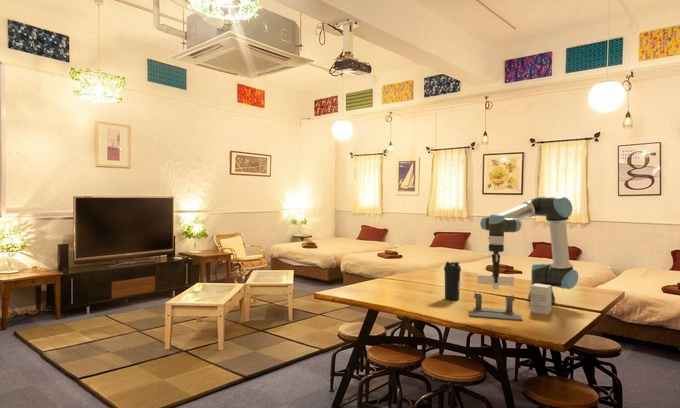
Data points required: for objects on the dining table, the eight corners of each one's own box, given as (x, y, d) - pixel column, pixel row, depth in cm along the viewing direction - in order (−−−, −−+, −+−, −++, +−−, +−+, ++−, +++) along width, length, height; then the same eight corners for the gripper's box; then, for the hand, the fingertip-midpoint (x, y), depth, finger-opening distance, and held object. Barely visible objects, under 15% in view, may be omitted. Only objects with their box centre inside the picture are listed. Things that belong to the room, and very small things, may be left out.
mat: (520, 316, 233) (520, 315, 233) (522, 320, 225) (522, 319, 225) (469, 312, 241) (469, 311, 241) (469, 316, 232) (469, 315, 232)
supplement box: (534, 309, 250) (535, 283, 249) (551, 312, 244) (552, 285, 244) (529, 312, 243) (530, 285, 242) (547, 315, 237) (547, 287, 237)
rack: (513, 311, 244) (513, 294, 244) (514, 314, 238) (514, 296, 238) (473, 308, 250) (473, 291, 250) (473, 310, 244) (474, 293, 244)
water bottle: (461, 301, 267) (461, 263, 266) (443, 300, 269) (444, 262, 268) (459, 297, 277) (460, 261, 276) (443, 296, 279) (443, 260, 278)
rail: (513, 284, 232) (513, 276, 232) (513, 285, 228) (514, 277, 228) (477, 282, 237) (477, 274, 237) (477, 283, 233) (477, 275, 233)
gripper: (487, 242, 241) (487, 284, 241) (489, 245, 225) (488, 290, 225) (502, 242, 239) (501, 285, 239) (505, 245, 223) (504, 291, 223)
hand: (495, 288), depth 232 cm, fingers closed on rail, 3 cm apart
